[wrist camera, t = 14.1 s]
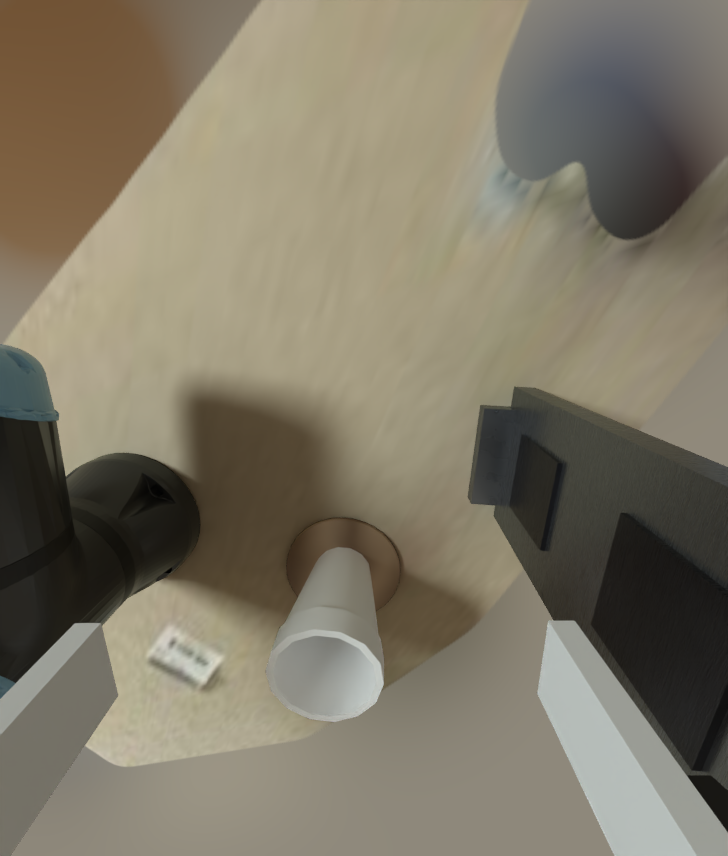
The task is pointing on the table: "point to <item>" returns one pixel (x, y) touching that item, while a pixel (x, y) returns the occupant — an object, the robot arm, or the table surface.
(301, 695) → the foam cup
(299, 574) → the coaster
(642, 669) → the post
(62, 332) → the table surface
